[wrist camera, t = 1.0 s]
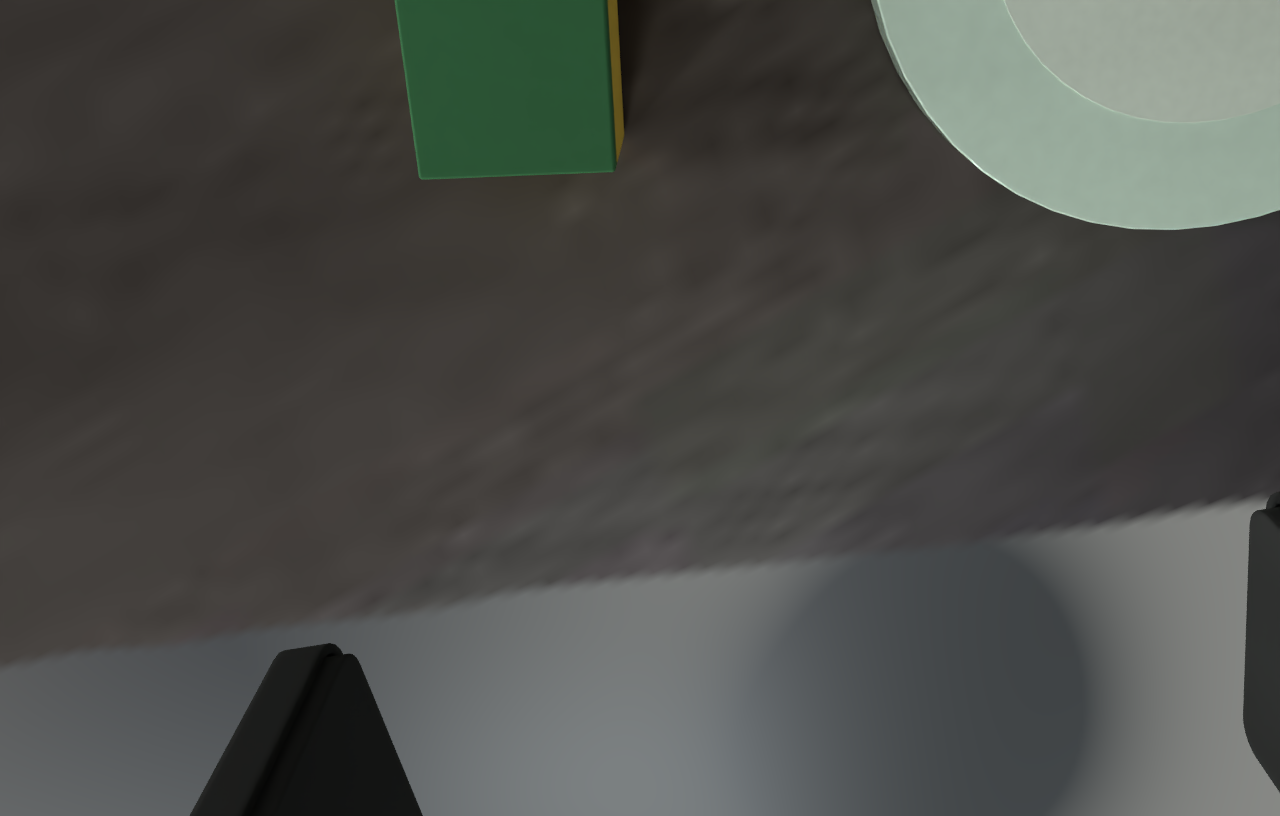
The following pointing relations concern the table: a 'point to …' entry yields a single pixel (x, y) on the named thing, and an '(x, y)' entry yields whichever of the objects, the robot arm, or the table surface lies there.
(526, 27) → the sponge
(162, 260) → the table surface
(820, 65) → the table surface
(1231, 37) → the plate
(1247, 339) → the table surface
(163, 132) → the table surface
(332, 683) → the robot arm
